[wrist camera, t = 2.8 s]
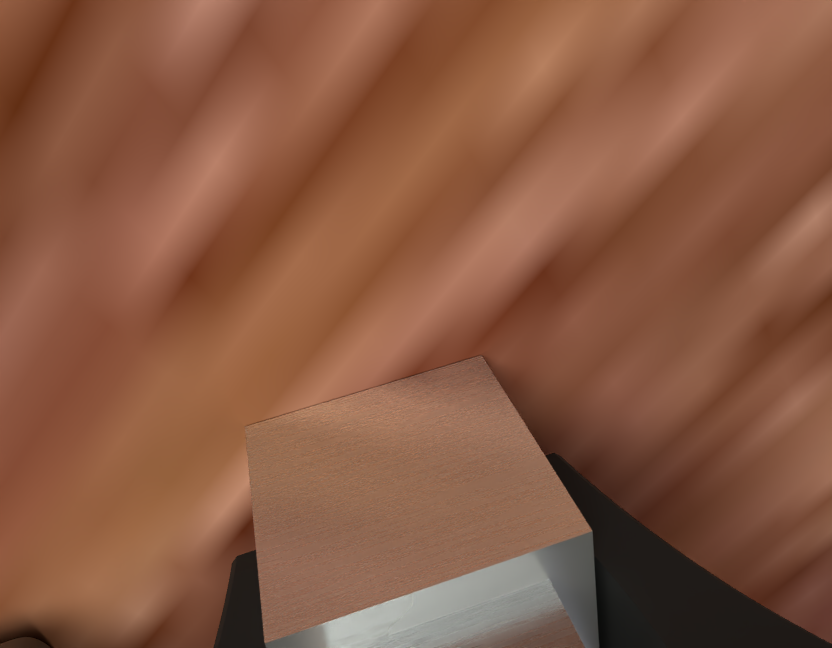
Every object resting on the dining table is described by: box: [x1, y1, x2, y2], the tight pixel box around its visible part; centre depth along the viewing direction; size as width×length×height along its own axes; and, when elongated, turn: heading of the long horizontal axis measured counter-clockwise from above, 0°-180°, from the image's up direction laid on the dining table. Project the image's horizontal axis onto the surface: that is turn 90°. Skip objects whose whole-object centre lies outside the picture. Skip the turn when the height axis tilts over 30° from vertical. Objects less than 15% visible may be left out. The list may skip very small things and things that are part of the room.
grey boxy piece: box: [245, 355, 599, 648], centre depth 11 cm, size 4×4×5 cm
